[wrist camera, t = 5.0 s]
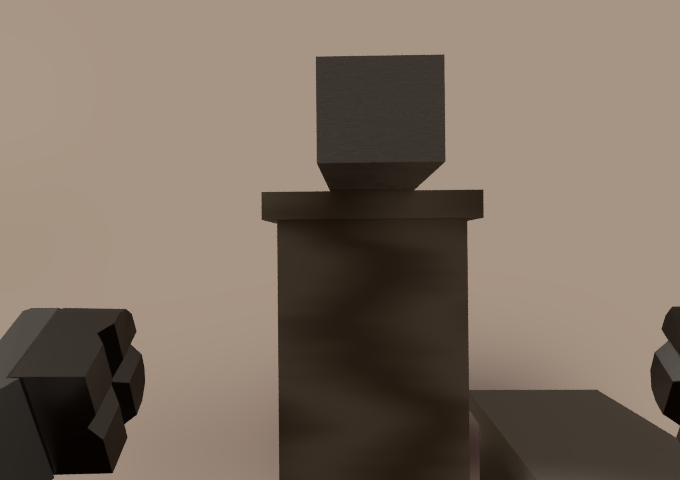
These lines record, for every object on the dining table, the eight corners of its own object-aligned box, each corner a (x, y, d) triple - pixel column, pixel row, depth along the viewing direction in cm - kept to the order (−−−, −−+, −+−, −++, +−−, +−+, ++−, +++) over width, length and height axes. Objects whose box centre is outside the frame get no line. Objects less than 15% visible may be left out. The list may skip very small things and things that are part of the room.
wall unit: (267, 913, 23) (261, 192, 23) (303, 636, 39) (300, 213, 39) (490, 916, 22) (483, 189, 23) (434, 637, 38) (430, 212, 39)
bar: (447, 161, 15) (446, 41, 15) (314, 162, 15) (313, 44, 15) (392, 210, 37) (391, 162, 37) (339, 211, 37) (338, 163, 37)
